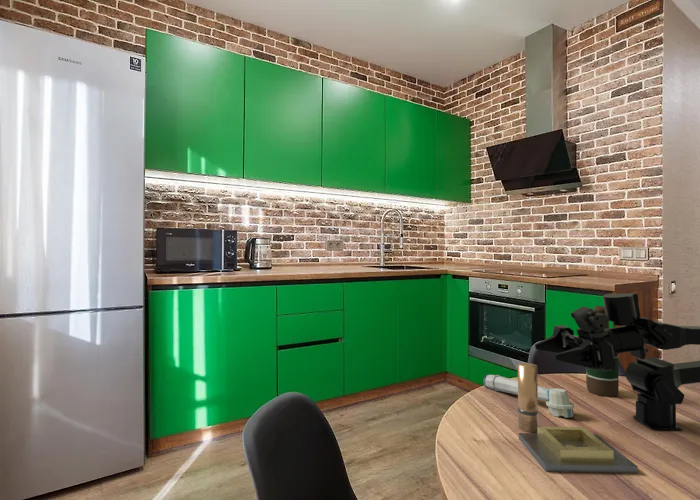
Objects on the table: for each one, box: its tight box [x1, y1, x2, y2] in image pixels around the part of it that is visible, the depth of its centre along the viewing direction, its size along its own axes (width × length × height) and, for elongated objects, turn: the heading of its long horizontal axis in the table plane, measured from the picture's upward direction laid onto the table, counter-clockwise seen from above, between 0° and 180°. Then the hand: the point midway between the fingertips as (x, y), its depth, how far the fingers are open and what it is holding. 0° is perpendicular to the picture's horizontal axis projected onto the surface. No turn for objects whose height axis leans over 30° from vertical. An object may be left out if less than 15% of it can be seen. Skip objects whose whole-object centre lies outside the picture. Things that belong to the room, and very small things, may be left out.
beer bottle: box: [585, 305, 620, 398], centre depth 107 cm, size 8×8×24 cm
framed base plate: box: [518, 426, 639, 474], centre depth 74 cm, size 16×12×3 cm
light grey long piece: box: [482, 374, 575, 419], centre depth 101 cm, size 5×7×25 cm
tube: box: [517, 362, 539, 433], centre depth 85 cm, size 4×4×14 cm
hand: (544, 351), depth 87 cm, fingers open, 9 cm apart
